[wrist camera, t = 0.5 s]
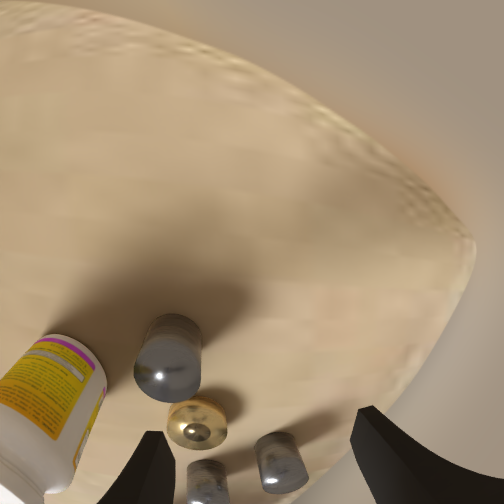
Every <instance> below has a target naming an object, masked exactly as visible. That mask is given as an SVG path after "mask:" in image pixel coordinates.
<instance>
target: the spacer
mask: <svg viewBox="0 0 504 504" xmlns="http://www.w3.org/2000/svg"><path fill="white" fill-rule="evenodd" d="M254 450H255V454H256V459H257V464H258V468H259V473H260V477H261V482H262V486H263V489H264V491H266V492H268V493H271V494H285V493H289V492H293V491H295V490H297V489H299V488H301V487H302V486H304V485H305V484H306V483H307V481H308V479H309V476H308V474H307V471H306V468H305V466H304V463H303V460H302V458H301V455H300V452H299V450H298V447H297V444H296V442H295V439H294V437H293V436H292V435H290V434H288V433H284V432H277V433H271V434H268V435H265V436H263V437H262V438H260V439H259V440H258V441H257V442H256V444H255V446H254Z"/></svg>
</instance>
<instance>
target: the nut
mask: <svg viewBox="0 0 504 504" xmlns="http://www.w3.org/2000/svg"><path fill="white" fill-rule="evenodd" d="M167 433H168V435H169V437H170V438H171V440H172V441H174V442H175V443H176V444H178V445H179V446H182V447H184V448H187V449H192V450H207V449H212V448H214V447H217V446H218V445H220V444H221V443H222V442H223V441H224V440H225V439H226V437H227V424H226V415H225V411H224V409H223V407H222V406H221V405H220V404H219V403H217V402H216V401H214V400H212V399H210V398H207V397H203V396H192V397H191V398H189V399H187V400H185V401H182V402H177V403H173V404H172V405H171V407H170V409H169V415H168V422H167Z"/></svg>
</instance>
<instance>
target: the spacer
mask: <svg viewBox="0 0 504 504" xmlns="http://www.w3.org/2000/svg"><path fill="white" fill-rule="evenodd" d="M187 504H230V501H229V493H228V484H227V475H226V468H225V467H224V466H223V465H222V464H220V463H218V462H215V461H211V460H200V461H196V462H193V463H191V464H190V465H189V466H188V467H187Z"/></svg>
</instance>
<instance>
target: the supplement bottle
mask: <svg viewBox="0 0 504 504" xmlns="http://www.w3.org/2000/svg"><path fill="white" fill-rule="evenodd" d="M106 390H107V380H106V376H105V373H104V370H103V368H102V366H101V364H100V363H99V361H98V360H97V358H96V357H95V356H94V354H93V353H92V352H91V351H90V350H89V349H88V348H86V347H85V346H84V345H83V344H81V343H80V342H78V341H76V340H75V339H73V338H70V337H68V336H65V335H60V334H51V335H46V336H44V337H42V338H40V339H39V340H38V341H37V342H36V343H34V344H33V346H32V347H31V348H30V349H29V350H28V351H27V352H26V353H25V354H24V355H23V356H22V357H21V358H20V359H19V360H18V361H17V362H16V364H15V365H14V366H13V367H12V368H11V369H10V370H9V371H8V372H7V373H6V374H5V376H4V377H3V378H2V379H1V380H0V504H44V497H43V495H44V493H59V492H62V491H64V490H66V489H67V488H68V487H69V486H70V484H71V483H72V480H73V477H74V475H75V472H76V469H77V466H78V463H79V460H80V458H81V455H82V452H83V449H84V447H85V444H86V442H87V439H88V437H89V434H90V432H91V429H92V427H93V424H94V422H95V419H96V417H97V415H98V412H99V410H100V407H101V405H102V403H103V400H104V397H105V394H106Z"/></svg>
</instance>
